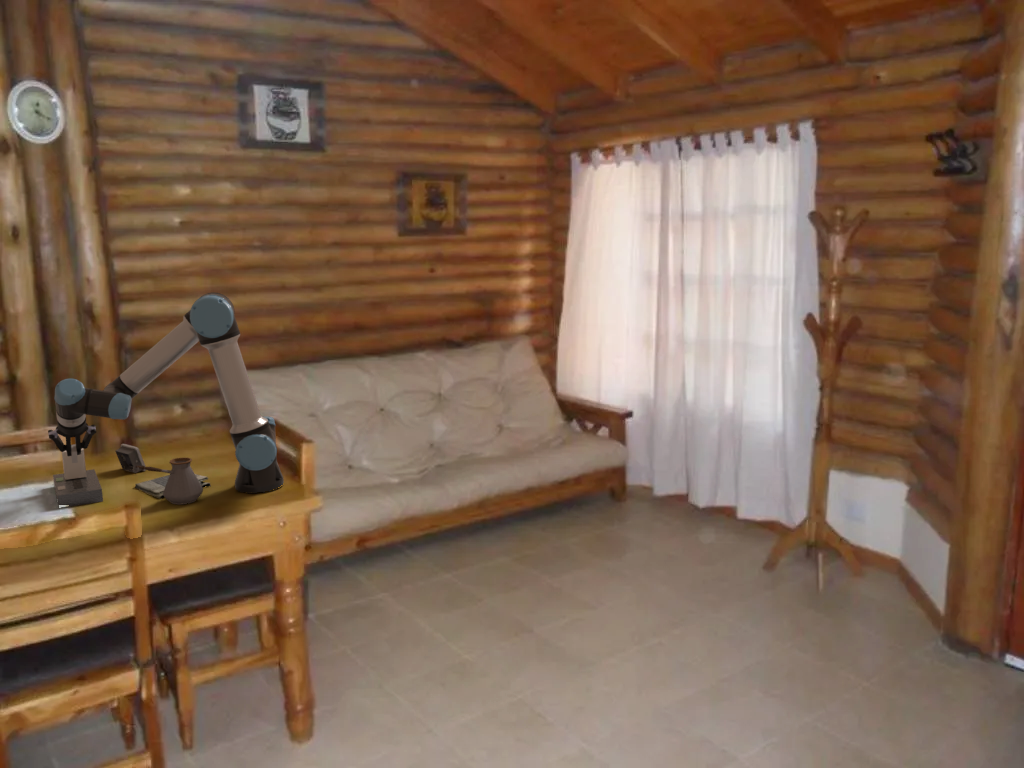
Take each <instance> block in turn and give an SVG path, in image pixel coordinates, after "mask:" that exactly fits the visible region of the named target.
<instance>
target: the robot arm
mask: <svg viewBox="0 0 1024 768" xmlns="http://www.w3.org/2000/svg"><path fill="white" fill-rule="evenodd" d="M236 319H237V318H236V316H235V308H234V304H233V303H232V301H231V300H230V298H229V297H227V295H224V294H222V293H219V292H207V293H205V294H202V295H201V296H200V297H198V299H196V300H195V301H194V302H193V304H192V305H191V307H190V309H189V310H188V312H186V313H185V314H184V315H183V320H182V321H181V322H180V323H179V324H177V326H175V327H174V328H173V329H172V330H171V331H169V332H168V333H167V334H166V335H165V336H164V337H162V338H161V339H160V340H159V341H158V342H157V343H156V344H154V345H153V346H152V347H150V349H148V350H147V351H146V352H145V353H144V354H142V356H141V357H139V358H138V359H136V361H135V362H133V363H132V364H131V365H130V366H129V367H127V368H126V370H124V371H123V372H122V373H121V374H120V375H119V376H117V377H116V378H115V379H114V380H112V381H111V382H110V383H108V384H107V385H106V386H104V389H103V390H101V389H100V390H99V389H93V388H91V387H90V388H89V387H85V385H84V383H83V382H82V381H80V380H78V379H75V378H64V379H62V380H61V381H58V383H57V384H56V385H55V387H54V388H55V389H54V398H53V399H54V403H55V412H56V422H57V423H56V424H57V425H56V427H55V429H53V430H52V429H49V430H47V432H48V439H50V440H51V441H53V442H54V444H55V445H56V447H57V448H58V450H59V452H60V453H62V452H64V451H67V456H71V458H72V463H77V462H78V460H77V455H81V449H82V448H83V449H84V450H86V449H88V447H89V444H91V440H92V438H93V436H94V435H95V434H96V433H97V429H96V427H97V426H96V424H91V425H88V423H87V415H88V416H94V417H100V418H107V419H112V420H127V419H128V417H129V415H130V411H131V406H132V400H133V399H134V398H135V397H136V396H137V395H138V394H140V393H141V392H142V391H143V390H144V389H145V388H146V387H148V385H150V384H151V383H152V382H153V381H155V380H156V379H157V378H158V377H159V376H160V375H161V374H163V373H164V372H165V371H166V370H167V369H168V368H169V367H171V366H172V365H173V364H174V363H175V362H177V360H179V359H181V358H182V356H184V355H185V354H186V353H187V352H188V351H189V350H190V349H193V347H194V346H195V345H196V344H198V342H199V344H200V346H201V347H203V348H205V349H207V350H208V354H209V357H210V360H211V362H212V363H211V364H212V365H213V369H214V372H215V375H216V378H217V381H218V383H219V388H220V390H221V393H222V396H223V399H224V402H225V405H226V409H227V410H228V414H229V417H230V419H231V424H232V426H231V428H230V429H229V433H230V437H231V440H232V443H233V445H234V449H235V452H234V453H235V458H236V461H237V462H238V464H239V465H238V470H237V473H236V477H235V480H234V487H235V490H236V491H237V490H238V491H237V492H239V491H240V493H243V492H247V493H246V494H258V493H257V492H263V493H266V492H265V491H269V492H271V491H270V490H273V489H276V488H278V487H280V486H281V485H283V483H284V476H283V474H282V472H281V469H280V466H279V464H278V457H277V456H278V455H277V453H278V447H277V439H276V437H277V436H276V423H275V419H274V417H272V416H267V415H266V416H265V415H264V416H262V415H261V411H260V408H259V405H258V404H259V403H258V401H257V399H256V396H255V392H254V389H253V386H252V384H251V380H250V377H249V375H248V374H249V373H248V370H247V367H246V364H245V362H244V358H243V355H242V352H241V349H240V346H239V344H238V340H239V338H240V336H241V331H240V328H239V326H238V322H237V320H236ZM83 434H84V437H83V438H82V440H81V436H82V435H83ZM60 436H62V438H63V437H64V438H65V444H64V442H63V440H62V439H61V438H60ZM72 438H75V439H74V440H75V444H72V441H71V440H72ZM284 484H285V483H284ZM283 486H284V485H283ZM276 490H277V489H276ZM273 491H274V490H273Z"/></svg>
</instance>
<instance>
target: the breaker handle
mask: <svg viewBox="0 0 1024 768" xmlns="http://www.w3.org/2000/svg"><path fill="white" fill-rule="evenodd" d="M61 455H62V456H61V457H62V467H63V473H64V477H65V480H68V479H75V478H82V477H87V476H86V460H85V459H86V458H85V457H86V456H85V449H83V448H82V449H81V455H77V460H78V462H77V463H72V458H71V456H67V451H64V452H61Z"/></svg>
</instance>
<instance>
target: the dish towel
mask: <svg viewBox="0 0 1024 768" xmlns="http://www.w3.org/2000/svg"><path fill="white" fill-rule="evenodd" d="M194 474H195V475H196V477H197V479H198V481H199V482H200V484H201V486H202V488H203V487H205V486H210V487H211V486H212V485H211V482H204V481H208V480H209V477H208V476H205V475H200V474H196V473H194ZM169 475H170V474H168V475H163V476H160V477H157V478H153V479H149V480H145V481H141V482H139V483H135V485H134V486H135V487H134V488H135V489H138V490H140V491H142V492H143V493H145V494H147V495H150V496H151V495H152V497H153V496H154V497H153V498H157V499H159V500H161V499H165V498H164V496H163V492H164V489H165V486H166V484H167V481H168V478H169ZM203 489H204V488H203Z"/></svg>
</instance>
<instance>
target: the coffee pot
mask: <svg viewBox="0 0 1024 768" xmlns="http://www.w3.org/2000/svg"><path fill="white" fill-rule="evenodd" d="M192 461H193V459H192V458H191V457H176V458H172V459H171V460H169V461H168V462H169V464H170V465H171V470H170V469H169V470H168V469H162V468H158V467H153V466H146V465H145V466H146V467H145V466H135V467H136V468H138V470H139V469H142V470H144V469H145V470H146V471H149V472H157V473H165V474H168V475H169V478H168V481H167V484H166V486H165V489H164V492H163V496H164V497H165V498H164V499H166V500H167V501H168V502H170V503H171V504H173V505H187V503H188V504H191V503H194V502H196V501H197V500H198V498H200V497H201V496H202V494H203V491H204V488H202V486H201V484H200V482H199V481H198V479H197V477H196V475H195V474H196V473H195V472H194V469H192V467H191V463H192ZM135 467H134V468H135ZM134 468H133V469H132V470H133V472H134ZM133 472H132V473H133ZM137 473H139V472H138V471H137ZM137 473H136V472H135V473H134V474H137Z"/></svg>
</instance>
